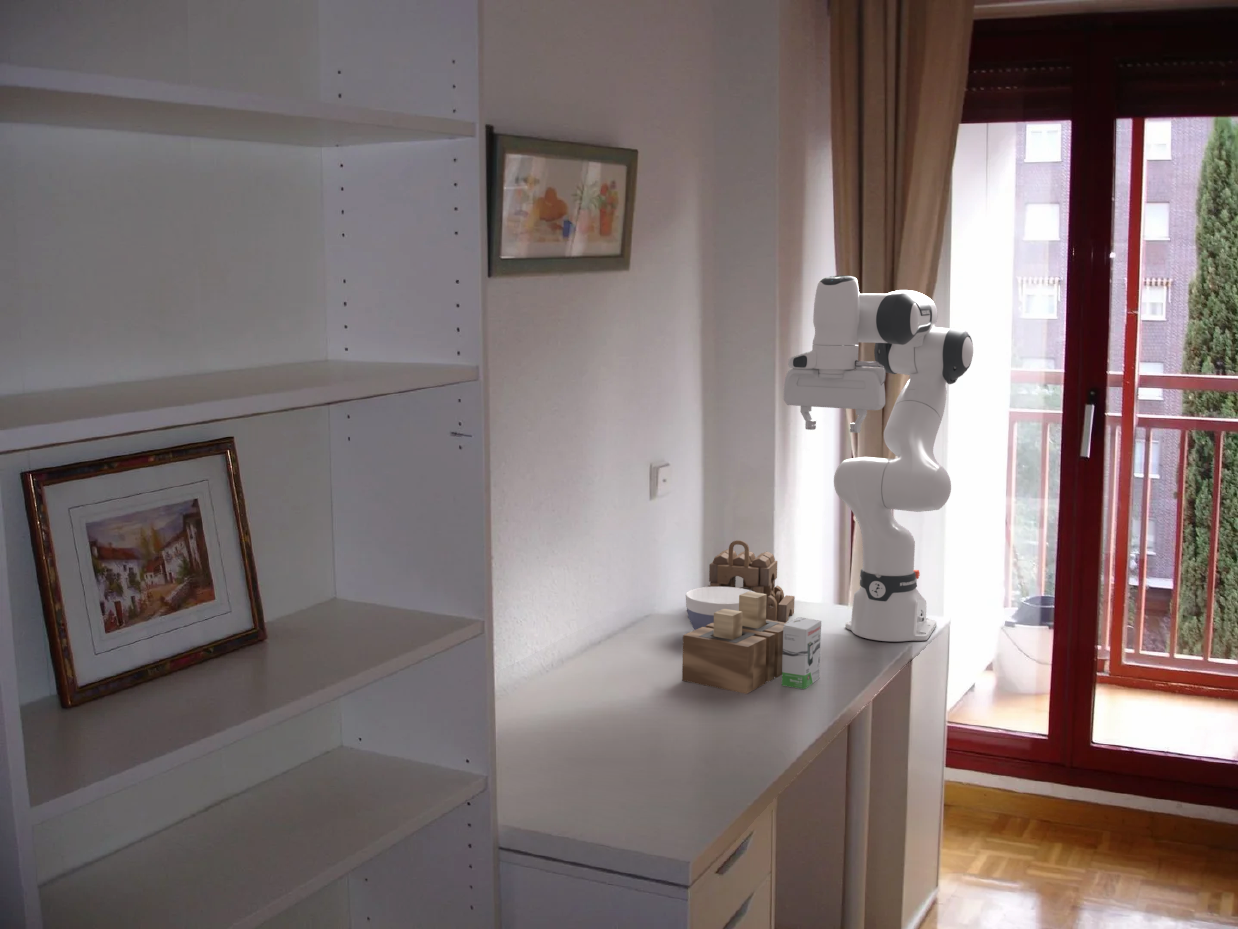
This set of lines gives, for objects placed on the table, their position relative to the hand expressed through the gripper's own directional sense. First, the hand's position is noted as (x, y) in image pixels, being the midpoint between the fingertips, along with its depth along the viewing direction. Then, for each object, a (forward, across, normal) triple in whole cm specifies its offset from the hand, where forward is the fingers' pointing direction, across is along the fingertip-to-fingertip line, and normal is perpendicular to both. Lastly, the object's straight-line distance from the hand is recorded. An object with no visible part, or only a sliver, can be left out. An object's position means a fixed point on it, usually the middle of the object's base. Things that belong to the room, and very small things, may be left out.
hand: (832, 431), depth 239 cm
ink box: (+48, 0, +12) cm, 49 cm away
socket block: (+48, +12, +14) cm, 51 cm away
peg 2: (+42, +12, +9) cm, 44 cm away
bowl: (+48, +28, -7) cm, 56 cm away
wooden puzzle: (+48, +34, -28) cm, 65 cm away
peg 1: (+43, +12, +19) cm, 49 cm away
